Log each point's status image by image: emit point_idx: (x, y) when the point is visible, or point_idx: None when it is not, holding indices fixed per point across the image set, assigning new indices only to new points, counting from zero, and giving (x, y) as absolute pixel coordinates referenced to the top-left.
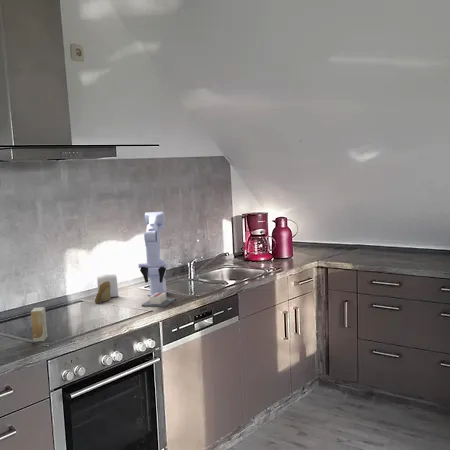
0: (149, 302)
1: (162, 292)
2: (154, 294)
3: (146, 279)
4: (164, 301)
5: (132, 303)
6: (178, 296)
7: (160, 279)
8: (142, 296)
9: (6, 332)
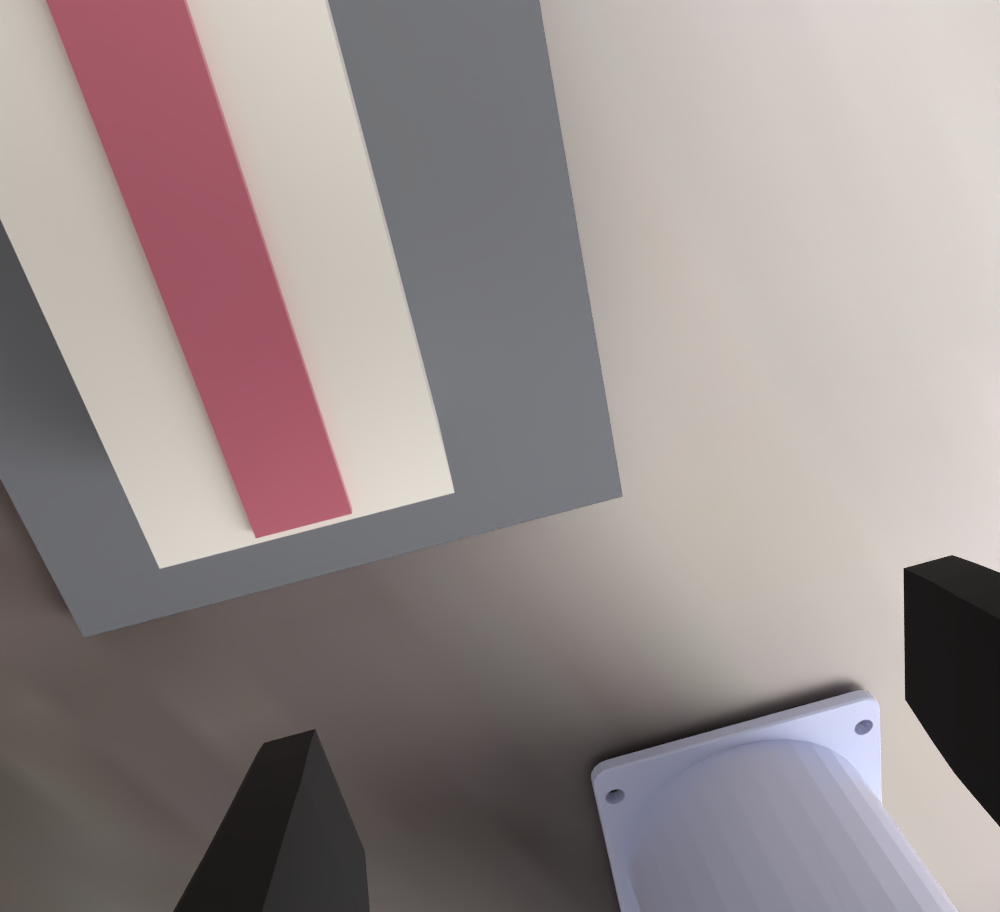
0: (435, 75)
1: (251, 526)
2: (357, 261)
3: (994, 662)
4: None
5: (916, 21)
6: None
7: (237, 839)
8: None
9: None
